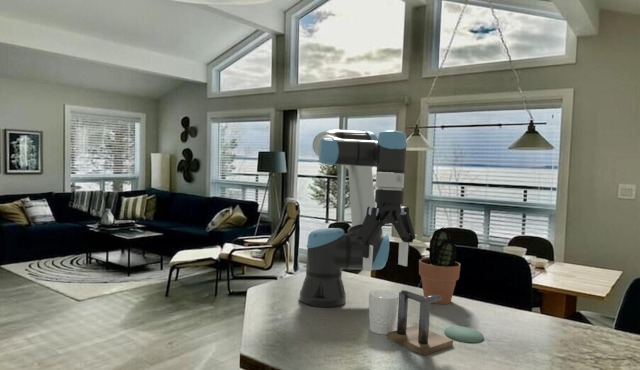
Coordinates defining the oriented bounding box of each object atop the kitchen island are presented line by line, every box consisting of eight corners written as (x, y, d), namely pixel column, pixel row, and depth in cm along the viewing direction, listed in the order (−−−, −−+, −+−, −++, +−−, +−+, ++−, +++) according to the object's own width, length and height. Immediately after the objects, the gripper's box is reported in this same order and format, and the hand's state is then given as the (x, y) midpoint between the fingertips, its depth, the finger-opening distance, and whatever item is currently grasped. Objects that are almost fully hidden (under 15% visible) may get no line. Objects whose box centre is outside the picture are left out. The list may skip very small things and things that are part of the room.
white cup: (396, 337, 114) (398, 299, 114) (365, 333, 116) (367, 296, 115) (396, 326, 122) (398, 291, 122) (368, 323, 124) (370, 288, 123)
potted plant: (408, 298, 150) (413, 226, 149) (431, 292, 159) (435, 223, 158) (444, 309, 140) (448, 231, 139) (466, 302, 149) (470, 229, 148)
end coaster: (436, 332, 119) (436, 330, 119) (458, 325, 125) (458, 323, 125) (468, 345, 111) (469, 343, 111) (490, 337, 117) (490, 335, 117)
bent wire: (394, 332, 113) (397, 289, 113) (412, 327, 118) (415, 286, 117) (423, 345, 106) (426, 299, 106) (441, 339, 110) (444, 295, 110)
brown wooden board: (387, 338, 113) (387, 332, 113) (415, 330, 120) (415, 325, 120) (424, 355, 104) (424, 349, 104) (452, 346, 110) (452, 340, 110)
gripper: (365, 189, 107) (360, 275, 107) (430, 190, 122) (426, 265, 123) (345, 187, 113) (341, 269, 113) (409, 188, 128) (406, 260, 128)
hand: (385, 267), depth 118 cm, fingers open, 13 cm apart
